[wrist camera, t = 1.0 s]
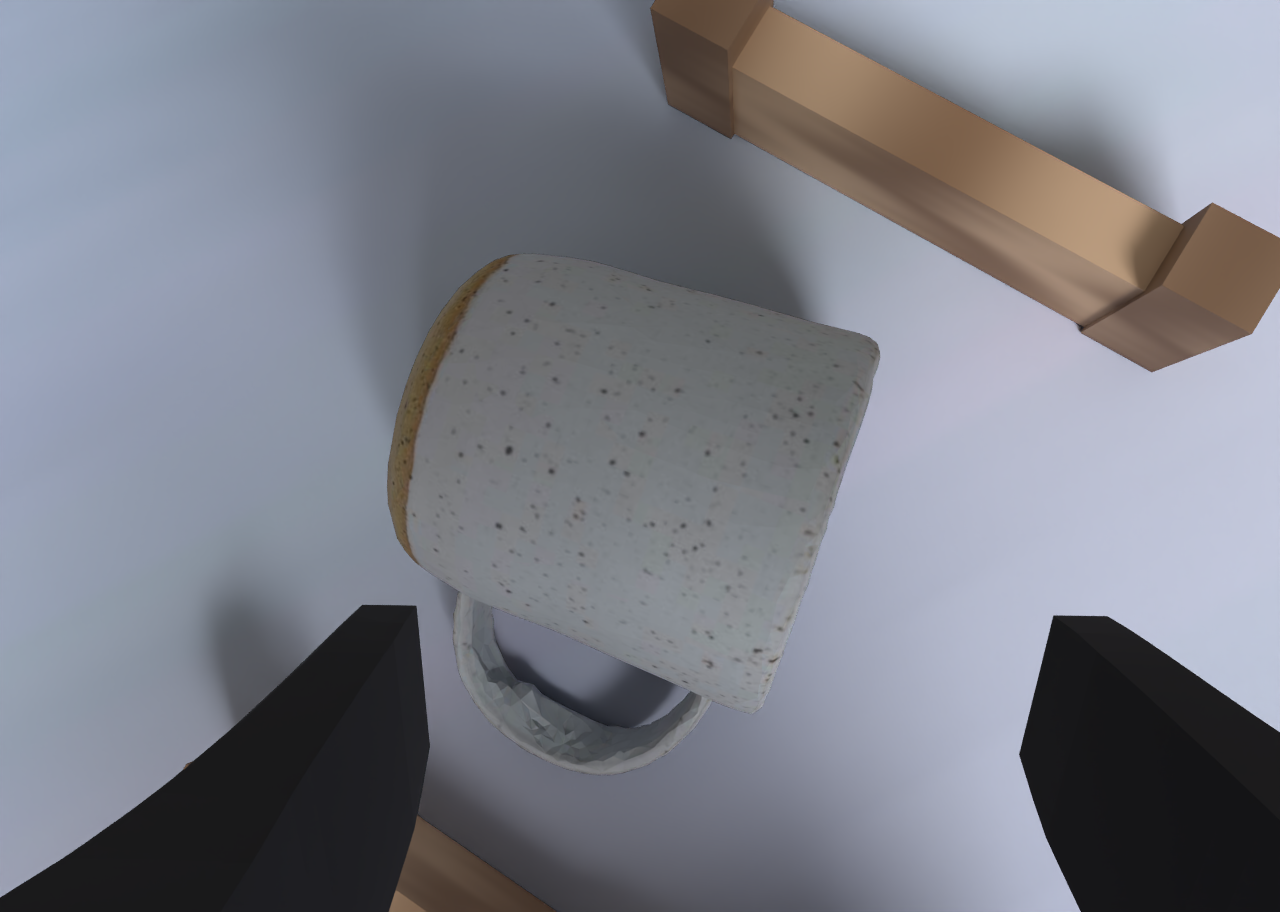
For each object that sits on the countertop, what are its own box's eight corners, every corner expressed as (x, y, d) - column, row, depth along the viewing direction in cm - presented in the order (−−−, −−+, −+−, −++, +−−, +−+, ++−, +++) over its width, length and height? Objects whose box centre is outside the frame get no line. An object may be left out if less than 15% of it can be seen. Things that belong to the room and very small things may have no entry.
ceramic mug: (541, 279, 24) (443, 173, 17) (865, 374, 23) (918, 308, 16) (409, 691, 24) (248, 775, 16) (729, 806, 23) (717, 952, 15)
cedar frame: (1192, 305, 23) (1303, 250, 18) (706, 1103, 22) (696, 1245, 18) (706, 41, 24) (696, -68, 20) (252, 782, 24) (139, 841, 20)
